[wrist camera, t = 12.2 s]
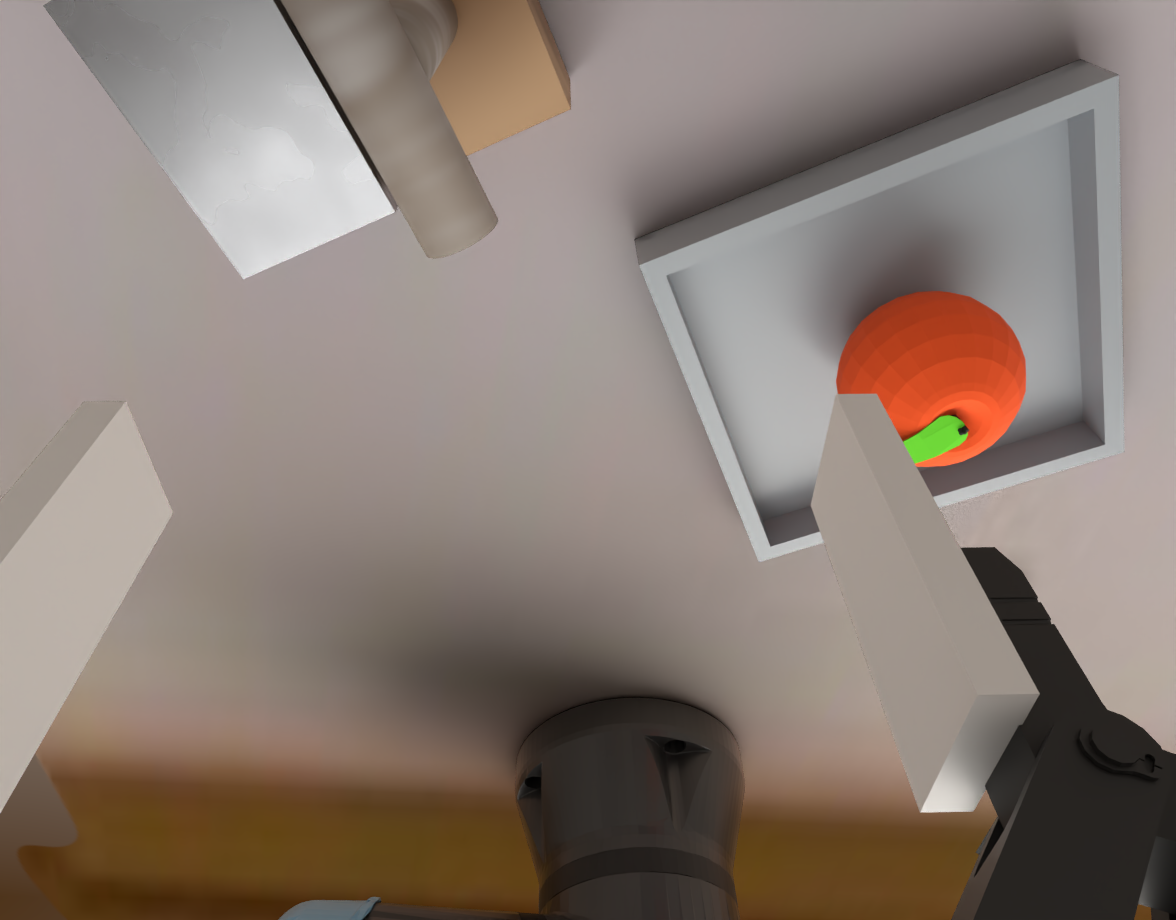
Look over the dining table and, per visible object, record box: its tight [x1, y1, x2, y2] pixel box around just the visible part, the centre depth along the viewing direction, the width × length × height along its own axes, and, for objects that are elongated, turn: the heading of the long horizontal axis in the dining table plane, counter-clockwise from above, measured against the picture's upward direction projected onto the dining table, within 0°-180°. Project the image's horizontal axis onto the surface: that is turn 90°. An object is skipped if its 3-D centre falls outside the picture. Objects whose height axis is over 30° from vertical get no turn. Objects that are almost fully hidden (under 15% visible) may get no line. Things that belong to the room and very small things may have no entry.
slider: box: [281, 0, 571, 259], centre depth 22 cm, size 8×6×12 cm
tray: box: [635, 59, 1124, 562], centre depth 34 cm, size 17×17×2 cm
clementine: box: [836, 291, 1026, 467], centre depth 32 cm, size 8×7×7 cm
